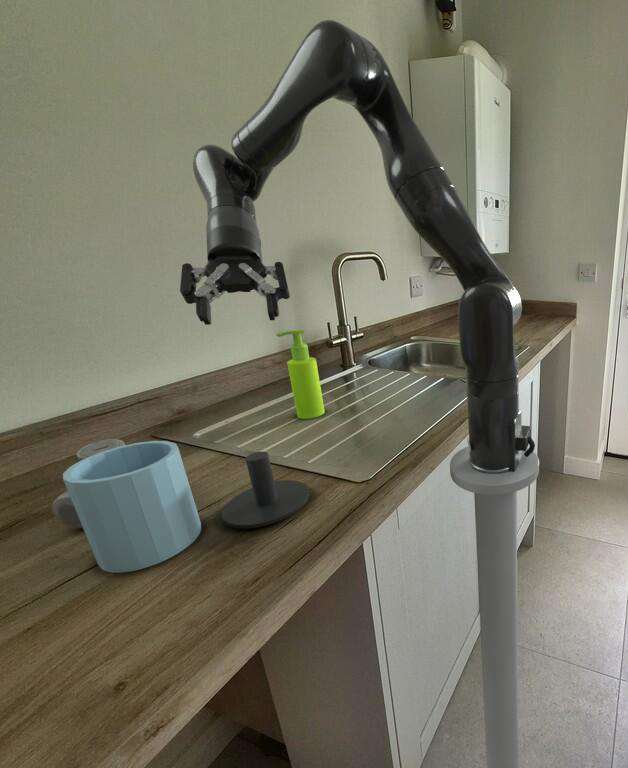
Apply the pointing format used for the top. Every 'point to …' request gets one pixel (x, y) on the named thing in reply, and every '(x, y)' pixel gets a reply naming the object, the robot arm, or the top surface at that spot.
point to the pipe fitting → (63, 503)
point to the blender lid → (264, 497)
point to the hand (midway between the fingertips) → (240, 319)
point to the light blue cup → (134, 504)
